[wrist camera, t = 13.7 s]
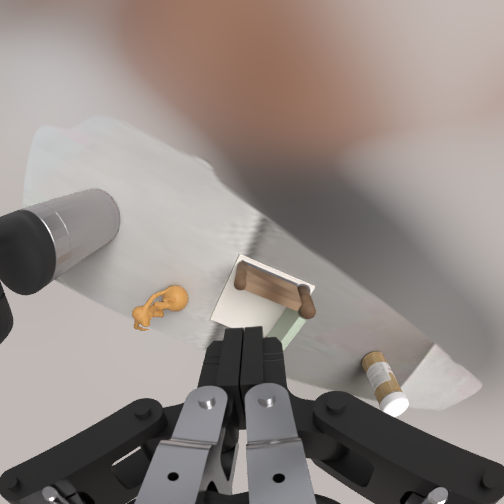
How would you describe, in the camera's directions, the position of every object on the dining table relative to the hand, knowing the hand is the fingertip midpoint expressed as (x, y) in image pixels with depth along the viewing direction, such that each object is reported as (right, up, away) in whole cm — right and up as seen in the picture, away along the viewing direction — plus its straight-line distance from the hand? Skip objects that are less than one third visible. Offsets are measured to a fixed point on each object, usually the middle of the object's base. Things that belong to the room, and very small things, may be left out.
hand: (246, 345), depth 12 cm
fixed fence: (+3, 0, +33) cm, 33 cm away
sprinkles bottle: (+22, -16, +38) cm, 47 cm away
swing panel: (+5, -7, +35) cm, 36 cm away
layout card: (+2, -4, +35) cm, 35 cm away
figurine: (-12, -2, +35) cm, 37 cm away
